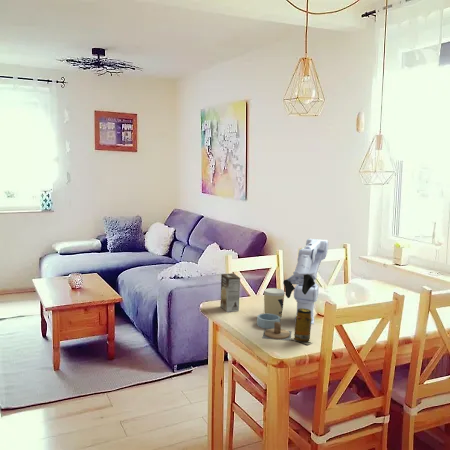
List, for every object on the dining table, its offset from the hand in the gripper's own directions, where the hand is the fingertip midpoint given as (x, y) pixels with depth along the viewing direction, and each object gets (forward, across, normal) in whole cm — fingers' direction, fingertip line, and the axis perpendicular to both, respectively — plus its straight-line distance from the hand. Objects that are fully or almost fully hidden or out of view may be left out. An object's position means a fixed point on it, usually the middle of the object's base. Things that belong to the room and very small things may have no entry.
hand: (295, 294), depth 188 cm
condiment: (+11, -2, +14) cm, 18 cm away
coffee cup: (-9, -25, +18) cm, 32 cm away
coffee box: (-11, -45, +10) cm, 47 cm away
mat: (+10, -12, +10) cm, 19 cm away
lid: (+10, -12, +10) cm, 18 cm away
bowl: (+2, -20, +12) cm, 24 cm away
